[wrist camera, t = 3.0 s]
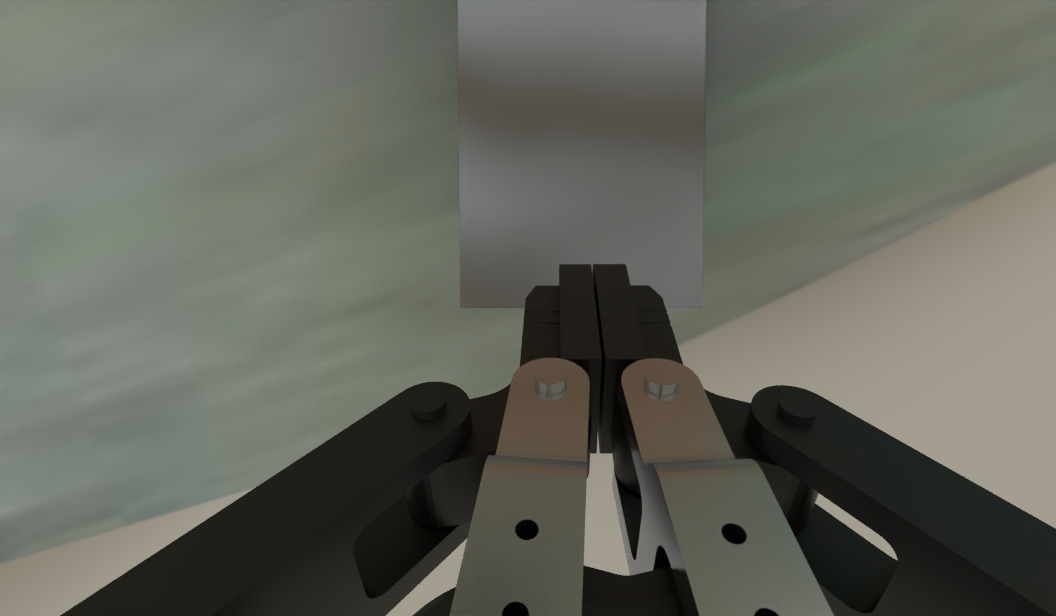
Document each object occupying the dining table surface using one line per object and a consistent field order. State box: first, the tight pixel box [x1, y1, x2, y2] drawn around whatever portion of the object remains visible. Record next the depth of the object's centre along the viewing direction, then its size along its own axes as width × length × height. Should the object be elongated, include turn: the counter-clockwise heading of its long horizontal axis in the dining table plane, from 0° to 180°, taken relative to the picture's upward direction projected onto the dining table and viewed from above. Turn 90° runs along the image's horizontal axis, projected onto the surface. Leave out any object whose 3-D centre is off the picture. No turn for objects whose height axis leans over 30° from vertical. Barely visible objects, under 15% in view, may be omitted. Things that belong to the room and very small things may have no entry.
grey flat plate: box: [458, 0, 706, 308], centre depth 19 cm, size 14×8×2 cm, turn 2°
